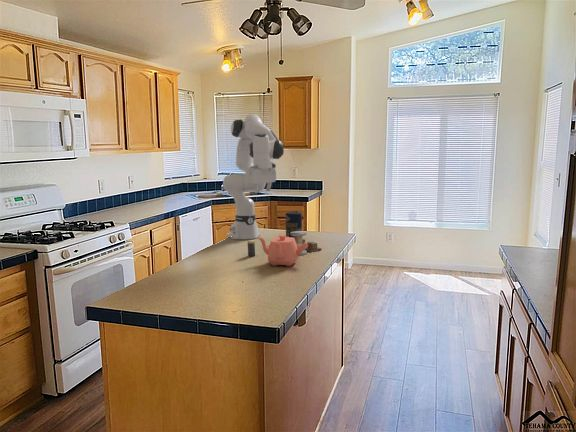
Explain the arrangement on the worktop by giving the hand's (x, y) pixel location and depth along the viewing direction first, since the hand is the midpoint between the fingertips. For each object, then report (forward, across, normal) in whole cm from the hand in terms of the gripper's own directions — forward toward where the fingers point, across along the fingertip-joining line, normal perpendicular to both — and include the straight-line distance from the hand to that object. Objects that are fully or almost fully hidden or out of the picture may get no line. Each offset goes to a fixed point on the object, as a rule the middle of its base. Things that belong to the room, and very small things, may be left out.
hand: (262, 191), depth 236 cm
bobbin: (+32, +7, -17) cm, 37 cm away
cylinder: (+32, -9, +2) cm, 34 cm away
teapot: (+33, -14, -21) cm, 42 cm away
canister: (+32, +30, +1) cm, 44 cm away
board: (+32, +18, -14) cm, 40 cm away
